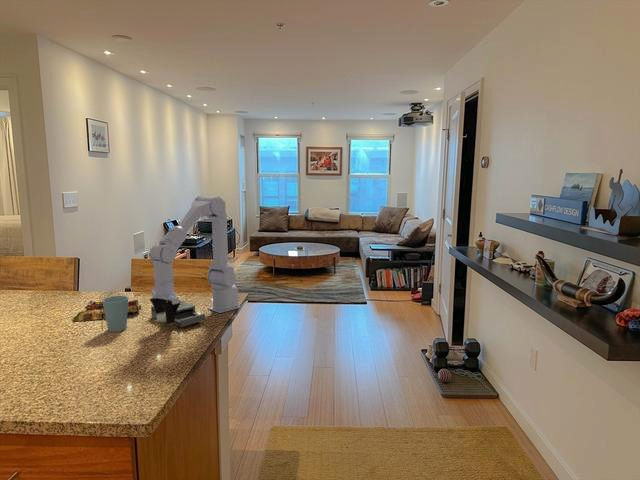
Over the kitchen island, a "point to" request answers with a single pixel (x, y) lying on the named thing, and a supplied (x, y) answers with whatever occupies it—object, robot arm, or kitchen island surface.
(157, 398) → the kitchen island surface
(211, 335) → the kitchen island surface
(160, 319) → the white rounded dome
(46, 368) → the kitchen island surface
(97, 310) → the crumpled patterned cloth
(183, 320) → the tray
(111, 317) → the cup
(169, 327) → the brown cardboard cube
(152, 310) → the shiny gray metal block
